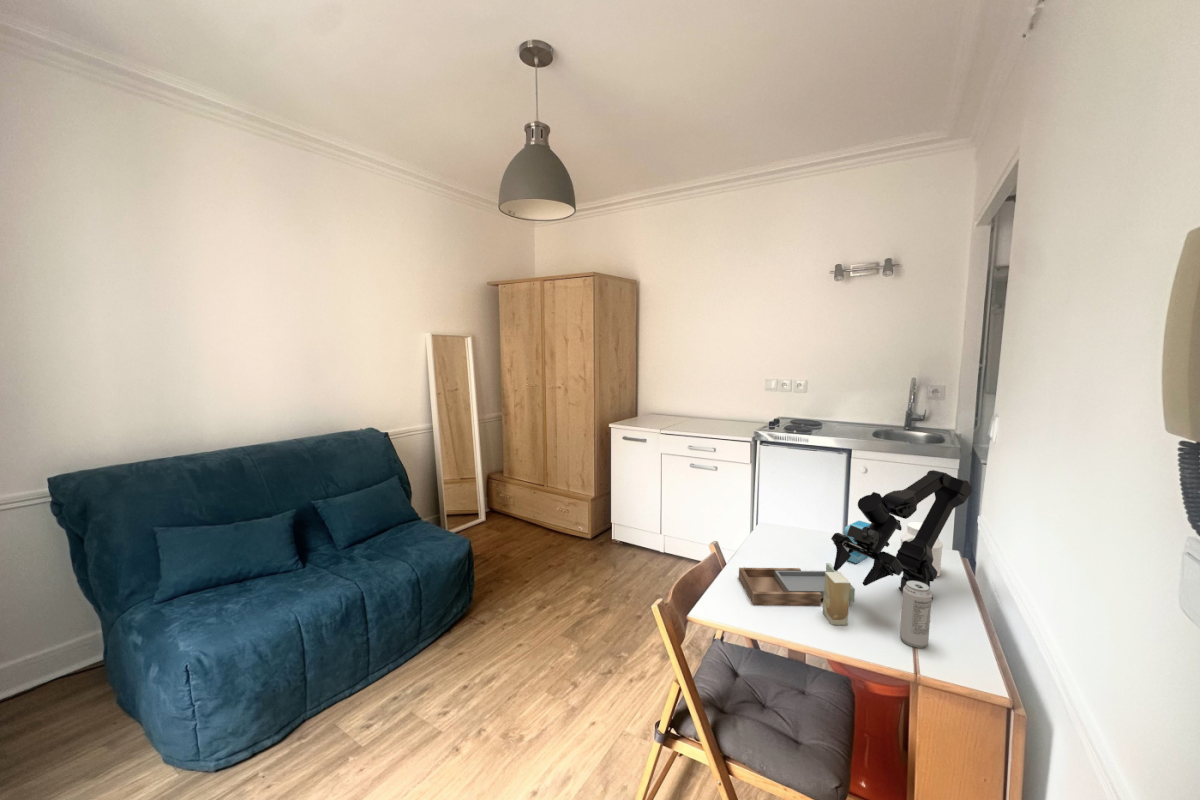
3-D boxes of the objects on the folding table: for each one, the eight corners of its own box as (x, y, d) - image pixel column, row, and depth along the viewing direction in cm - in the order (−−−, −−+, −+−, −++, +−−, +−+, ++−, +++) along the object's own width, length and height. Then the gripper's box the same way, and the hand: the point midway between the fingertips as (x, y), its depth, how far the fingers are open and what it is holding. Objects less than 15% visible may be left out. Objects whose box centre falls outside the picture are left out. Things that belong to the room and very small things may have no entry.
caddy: (799, 578, 155) (799, 568, 155) (820, 605, 139) (821, 594, 139) (738, 578, 156) (739, 567, 155) (753, 605, 139) (753, 593, 139)
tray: (828, 574, 155) (829, 563, 154) (854, 601, 138) (854, 588, 138) (772, 574, 155) (772, 562, 155) (790, 601, 139) (791, 588, 139)
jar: (945, 572, 159) (948, 528, 157) (933, 580, 153) (936, 535, 152) (906, 560, 168) (909, 518, 166) (893, 567, 163) (896, 524, 161)
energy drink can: (917, 634, 125) (921, 579, 123) (933, 648, 119) (938, 590, 117) (894, 635, 125) (898, 579, 123) (910, 649, 119) (914, 591, 117)
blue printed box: (855, 564, 165) (857, 531, 163) (842, 560, 168) (843, 527, 167) (871, 555, 172) (873, 523, 171) (858, 551, 176) (860, 519, 174)
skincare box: (821, 612, 135) (823, 571, 134) (837, 612, 135) (839, 571, 134) (832, 625, 129) (834, 582, 128) (848, 626, 129) (851, 582, 127)
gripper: (837, 505, 141) (807, 547, 138) (898, 527, 124) (865, 576, 121) (855, 527, 145) (826, 569, 142) (916, 551, 128) (885, 599, 125)
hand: (848, 577), depth 133 cm, fingers open, 9 cm apart
